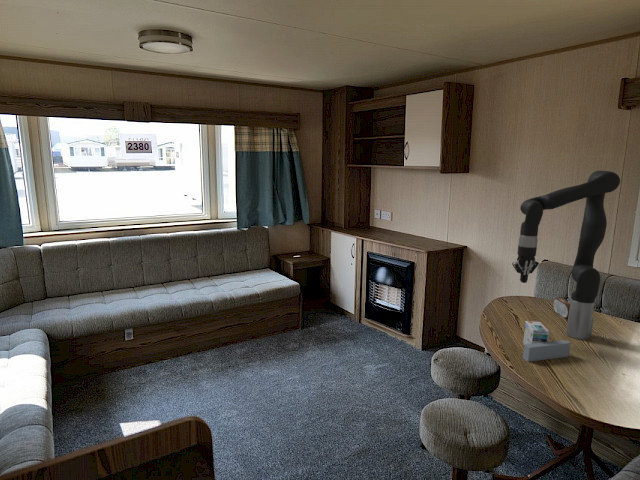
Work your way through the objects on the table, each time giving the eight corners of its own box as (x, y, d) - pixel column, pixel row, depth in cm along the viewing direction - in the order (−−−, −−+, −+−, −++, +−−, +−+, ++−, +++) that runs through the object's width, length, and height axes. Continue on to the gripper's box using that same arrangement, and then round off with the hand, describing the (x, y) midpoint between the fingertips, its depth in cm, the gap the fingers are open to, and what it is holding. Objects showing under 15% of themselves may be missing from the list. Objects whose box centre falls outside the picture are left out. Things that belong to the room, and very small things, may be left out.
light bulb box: (547, 355, 179) (550, 331, 176) (530, 354, 180) (533, 330, 177) (538, 344, 189) (541, 321, 187) (522, 343, 190) (524, 320, 188)
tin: (572, 321, 217) (574, 305, 215) (566, 321, 217) (568, 305, 215) (556, 310, 231) (558, 295, 230) (551, 310, 231) (553, 295, 230)
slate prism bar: (563, 353, 181) (564, 339, 180) (568, 356, 178) (570, 342, 177) (522, 358, 176) (524, 344, 175) (527, 361, 173) (529, 347, 172)
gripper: (534, 242, 197) (529, 279, 200) (509, 243, 193) (505, 280, 197) (546, 246, 190) (541, 283, 193) (520, 247, 186) (516, 285, 190)
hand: (523, 282), depth 195 cm, fingers closed
